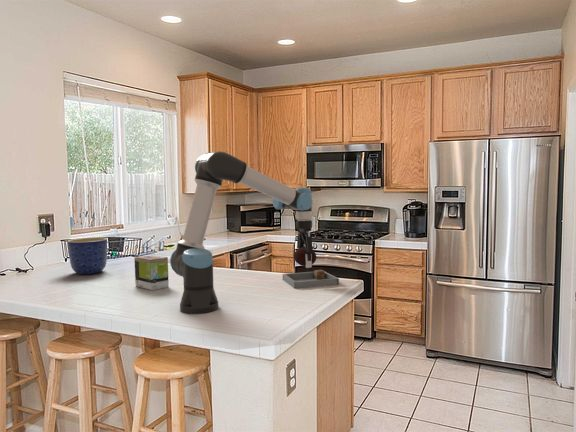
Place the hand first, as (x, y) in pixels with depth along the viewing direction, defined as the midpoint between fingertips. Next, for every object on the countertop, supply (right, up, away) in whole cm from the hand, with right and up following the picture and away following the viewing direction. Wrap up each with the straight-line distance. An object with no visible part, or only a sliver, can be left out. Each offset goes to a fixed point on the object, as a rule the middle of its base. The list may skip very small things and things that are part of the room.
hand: (305, 265), depth 227 cm
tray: (+2, -9, +1) cm, 9 cm away
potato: (0, 0, 0) cm, 0 cm away
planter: (-121, -8, +38) cm, 127 cm away
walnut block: (+7, -8, +9) cm, 14 cm away
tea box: (-75, -11, +1) cm, 75 cm away
